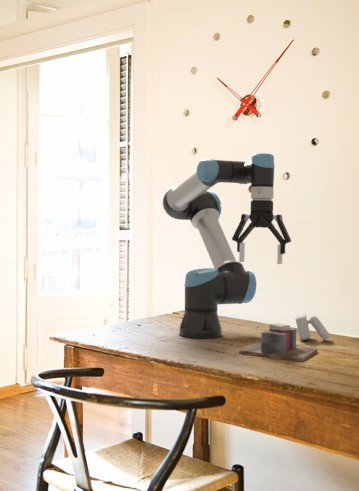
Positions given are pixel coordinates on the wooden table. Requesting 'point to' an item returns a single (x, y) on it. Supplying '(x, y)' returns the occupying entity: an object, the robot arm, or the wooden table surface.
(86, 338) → the wooden table surface
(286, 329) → the small box
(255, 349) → the slotted post block
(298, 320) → the wall hook
